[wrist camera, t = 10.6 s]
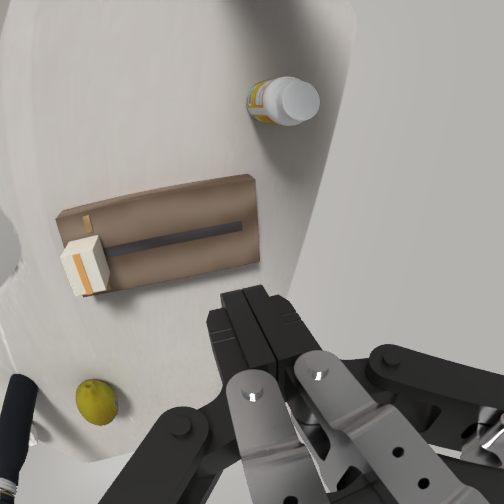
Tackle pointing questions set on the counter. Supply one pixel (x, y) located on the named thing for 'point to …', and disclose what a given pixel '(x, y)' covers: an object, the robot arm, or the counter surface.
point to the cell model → (33, 436)
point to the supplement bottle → (283, 101)
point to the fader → (86, 265)
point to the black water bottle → (15, 432)
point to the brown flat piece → (170, 230)
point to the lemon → (96, 402)
